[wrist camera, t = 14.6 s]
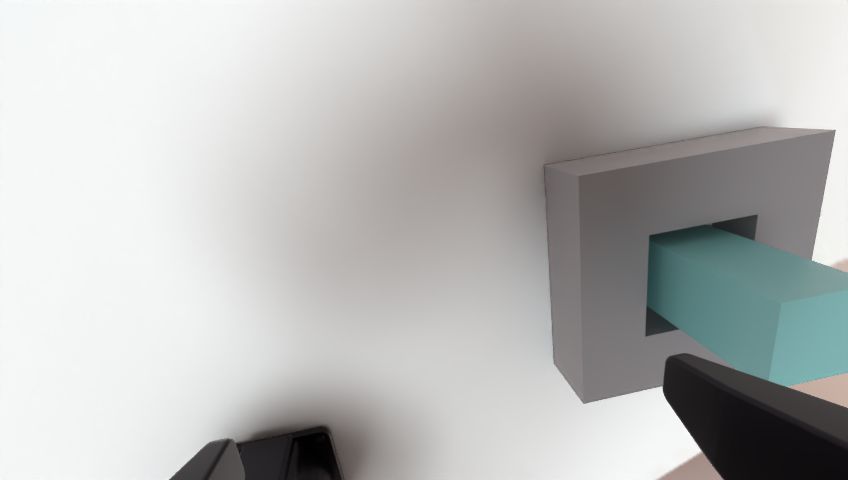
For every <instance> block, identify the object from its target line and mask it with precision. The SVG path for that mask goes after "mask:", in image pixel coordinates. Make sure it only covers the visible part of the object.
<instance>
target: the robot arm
mask: <svg viewBox="0 0 848 480" xmlns="http://www.w3.org/2000/svg"><path fill="white" fill-rule="evenodd" d="M663 393H664V396H665V398H666V400H667V401H668V403H669V404H670V406H671V407H672V409H673V410H674V411H675V413H676V414H677V416H678V417H679V419H680V420H681V422H682V423H683V424H684V426H685V427H686V429H687V430H688V432H689V433H690V435H691V436H692V437H693V439H694V440H695V442H696V443H697V445H698V446H699V448H700V449H701V450H702V452H703V453H704V455H705V456H706V457H707V459H708V460H709V462H710V463H711V464H712V466H713V467H714V468H715V469H716V471H717V472H718V473H719V475H721V477H722V478H723V479H724V480H848V408H846V407H843V406H840V405H837V404H835V403H832V402H829V401H826V400H823V399H820V398H817V397H814V396H811V395H808V394H806V393H803V392H800V391H797V390H794V389H791V388H788V387H785V386H782V385H779V384H776V383H773V382H771V381H768V380H765V379H762V378H759V377H756V376H753V375H750V374H747V373H744V372H741V371H738V370H736V369H733V368H730V367H727V366H724V365H721V364H718V363H715V362H712V361H709V360H706V359H703V358H701V357H698V356H695V355H692V354H688V353H682V354H677V355H671V356H669V357H667V359H666V360H665V367H664V377H663ZM319 436H324V437H319ZM169 480H344V478H343V474H342V471H341V467H340V464H339V460H338V457H337V453H336V450H335V447H334V443H333V440H332V436H331V433H330V431H329V429H327V428H326V427H318V428H313V429H308V430H304V431H299V432H295V433H290V434H286V435H281V436H276V437H272V438H267V439H263V440H258V441H253V442H249V443H244V444H240V445H236V444H235V442H234V440H233V439H230V438H227V439H221V440H216V441H212V442H209V443H208V444H207V445H205V446H204V447H203V448H202V449H201V450H200V451H199V452H198V453H197V454H196V455H195V456H194V457H193V458H192V459H191V460H189V461H188V462H187V463H186V464H185V465H184V466H183V467H182V468H181V469H180V470H179V471H178V472H177V473H176V474H175V475H174V476H173V477H171V478H170V479H169Z"/></svg>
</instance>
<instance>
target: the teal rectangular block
mask: <svg viewBox="0 0 848 480" xmlns="http://www.w3.org/2000/svg"><path fill="white" fill-rule="evenodd" d="M646 306H648V307H649V308H651V309H652V310H653V311H655V312H656V313H658V314H659V315H660V316H662V317H663V318H665V319H666V320H667V321H669V322H670V323H672V324H673V325H675V326H676V327H677V328H679V329H680V330H682V331H683V332H684V333H686V334H687V335H689V336H690V337H691V338H693V339H694V340H696V341H697V342H698V343H700V344H701V345H703V346H704V347H706V348H707V349H708V350H710V351H711V352H713V353H714V354H715V355H717V356H718V357H720V358H721V359H722V360H724V361H725V362H727V363H728V364H730V365H731V366H732V367H734V368H735V369H737V370H738V371H741V372H744V373H747V374H750V375H753V376H756V377H759V378H762V379H765V380H768V381H771V382H773V383H776V384H779V385H782V386H785V387H786V386H791V385H795V384H799V383H804V382H808V381H813V380H817V379H822V378H826V377H830V376H835V375H839V374H844V373H848V273H846V272H843V271H841V270H838V269H835V268H832V267H829V266H826V265H823V264H820V263H817V262H814V261H811V260H809V259H806V258H803V257H800V256H797V255H794V254H791V253H788V252H785V251H782V250H779V249H777V248H774V247H771V246H768V245H765V244H762V243H759V242H756V241H753V240H750V239H747V238H744V237H742V236H739V235H736V234H733V233H730V232H727V231H724V230H721V229H718V228H715V227H712V226H710V225H707V224H705V225H700V226H695V227H689V228H684V229H679V230H674V231H669V232H663V233H658V234H653V235H649V252H648V278H647V304H646Z"/></svg>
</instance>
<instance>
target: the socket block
mask: <svg viewBox="0 0 848 480" xmlns="http://www.w3.org/2000/svg"><path fill="white" fill-rule="evenodd" d="M835 131H836V130H822V129H801V128H779V127H758V128H752V129H747V130H741V131H735V132H729V133H724V134H718V135H712V136H707V137H701V138H695V139H689V140H684V141H678V142H672V143H667V144H661V145H655V146H649V147H644V148H638V149H632V150H627V151H621V152H615V153H609V154H604V155H598V156H592V157H587V158H581V159H575V160H569V161H564V162H558V163H552V164H547V165H544V171H545V191H546V212H547V232H548V252H549V272H550V292H551V312H552V333H553V353H554V364H555V365H556V367H557V368H558V369H559V371H560V372H561V374H562V375H563V376H564V378H565V379H566V380H567V382H568V383H569V385H570V386H571V387H572V389H573V390H574V391H575V393H576V394H577V396H578V397H579V398H580V400H581V401H582V402H583V404H585V403H589V402H593V401H598V400H602V399H607V398H611V397H616V396H620V395H625V394H629V393H634V392H638V391H642V390H647V389H651V388H656V387H660V386H663V377H664V367H665V360H666V359H667V357H669V356H671V355H677V354H682V353H688V354H692V355H695V356H698V357H701V358H703V359H706V360H709V361H712V362H715V363H718V364H721V365H724V366H727V367H730V368H733V369H735V368H734V367H732V366H731V365H730V364H728V363H727V362H725V361H724V360H722V359H721V358H720V357H718V356H717V355H715V354H714V353H713V352H711V351H710V350H708V349H707V348H706V347H704V346H703V345H701V344H700V343H698V342H697V341H696V340H694V339H693V338H691V337H690V336H689V335H687V334H686V333H684V332H683V331H682V330H680V329H679V328H677V327H676V326H675V325H673V324H672V323H670V322H669V321H667V320H666V319H665V318H663V317H662V316H660V315H659V314H658V313H656V312H655V311H653V310H652V309H651V308H649V307H648V306H646V304H647V278H648V252H649V235H653V234H658V233H663V232H669V231H674V230H679V229H684V228H689V227H695V226H700V225H705V224H707V225H710V226H712V227H715V228H718V229H721V230H724V231H727V232H730V233H733V234H736V235H739V236H742V237H744V238H747V239H750V240H753V241H756V242H759V243H762V244H765V245H768V246H771V247H774V248H777V249H779V250H782V251H785V252H788V253H791V254H794V255H797V256H800V257H803V258H806V259H809V260H812V255H813V249H814V244H815V239H816V233H817V228H818V222H819V217H820V212H821V206H822V201H823V195H824V190H825V185H826V179H827V174H828V168H829V163H830V158H831V152H832V147H833V141H834V136H835Z"/></svg>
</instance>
